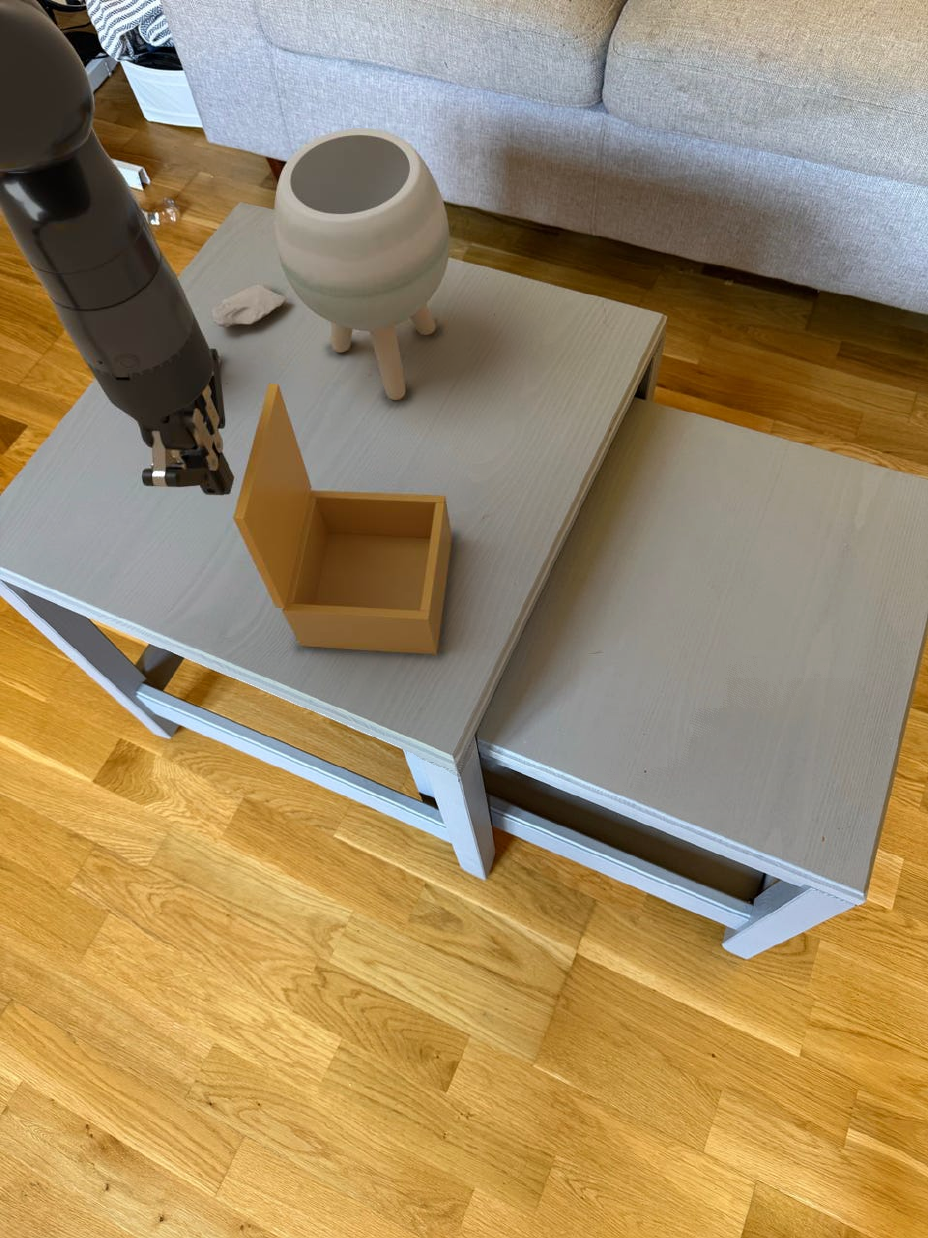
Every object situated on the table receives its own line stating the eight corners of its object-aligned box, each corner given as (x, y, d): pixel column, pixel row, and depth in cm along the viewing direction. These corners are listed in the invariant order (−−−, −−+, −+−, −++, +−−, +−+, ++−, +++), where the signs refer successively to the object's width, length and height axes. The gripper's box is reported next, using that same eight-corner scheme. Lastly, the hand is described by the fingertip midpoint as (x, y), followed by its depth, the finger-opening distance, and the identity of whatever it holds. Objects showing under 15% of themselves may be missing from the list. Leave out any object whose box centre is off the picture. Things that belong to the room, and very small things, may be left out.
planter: (409, 436, 93) (373, 259, 73) (286, 381, 98) (221, 201, 78) (490, 333, 99) (476, 143, 79) (369, 286, 104) (328, 96, 84)
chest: (452, 536, 87) (445, 495, 81) (436, 654, 81) (428, 619, 75) (324, 530, 88) (308, 489, 82) (300, 646, 83) (281, 611, 77)
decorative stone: (228, 347, 101) (219, 327, 98) (206, 318, 103) (197, 297, 101) (295, 312, 103) (289, 292, 100) (272, 284, 105) (265, 263, 102)
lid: (278, 383, 70) (268, 382, 70) (243, 518, 64) (232, 518, 64) (312, 486, 82) (303, 486, 82) (285, 608, 76) (275, 608, 76)
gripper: (107, 252, 61) (195, 421, 76) (46, 405, 55) (155, 555, 70) (213, 252, 60) (281, 423, 75) (164, 407, 54) (248, 559, 69)
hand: (220, 487), depth 73 cm, fingers closed
